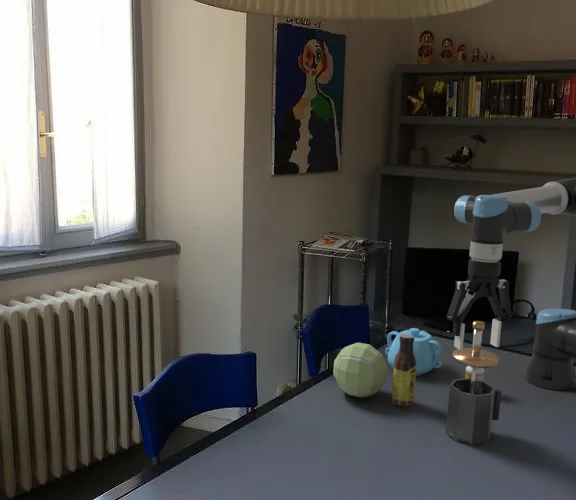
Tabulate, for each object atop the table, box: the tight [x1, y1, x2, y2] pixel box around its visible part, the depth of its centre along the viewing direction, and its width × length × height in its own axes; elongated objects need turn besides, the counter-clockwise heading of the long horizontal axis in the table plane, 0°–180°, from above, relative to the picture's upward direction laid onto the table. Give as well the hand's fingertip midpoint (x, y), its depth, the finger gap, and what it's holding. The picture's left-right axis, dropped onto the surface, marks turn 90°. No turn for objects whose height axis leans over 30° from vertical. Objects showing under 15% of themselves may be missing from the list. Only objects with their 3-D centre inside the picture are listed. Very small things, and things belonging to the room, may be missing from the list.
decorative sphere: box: [332, 342, 388, 399], centre depth 183 cm, size 15×15×15 cm
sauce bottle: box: [391, 334, 417, 408], centre depth 178 cm, size 7×6×20 cm
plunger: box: [452, 320, 500, 394], centre depth 159 cm, size 11×11×21 cm
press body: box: [445, 378, 502, 446], centre depth 162 cm, size 14×11×13 cm
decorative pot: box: [384, 327, 443, 377], centre depth 205 cm, size 16×16×14 cm
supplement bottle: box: [464, 365, 485, 382], centre depth 189 cm, size 5×5×10 cm
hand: (476, 346), depth 158 cm, fingers open, 10 cm apart
